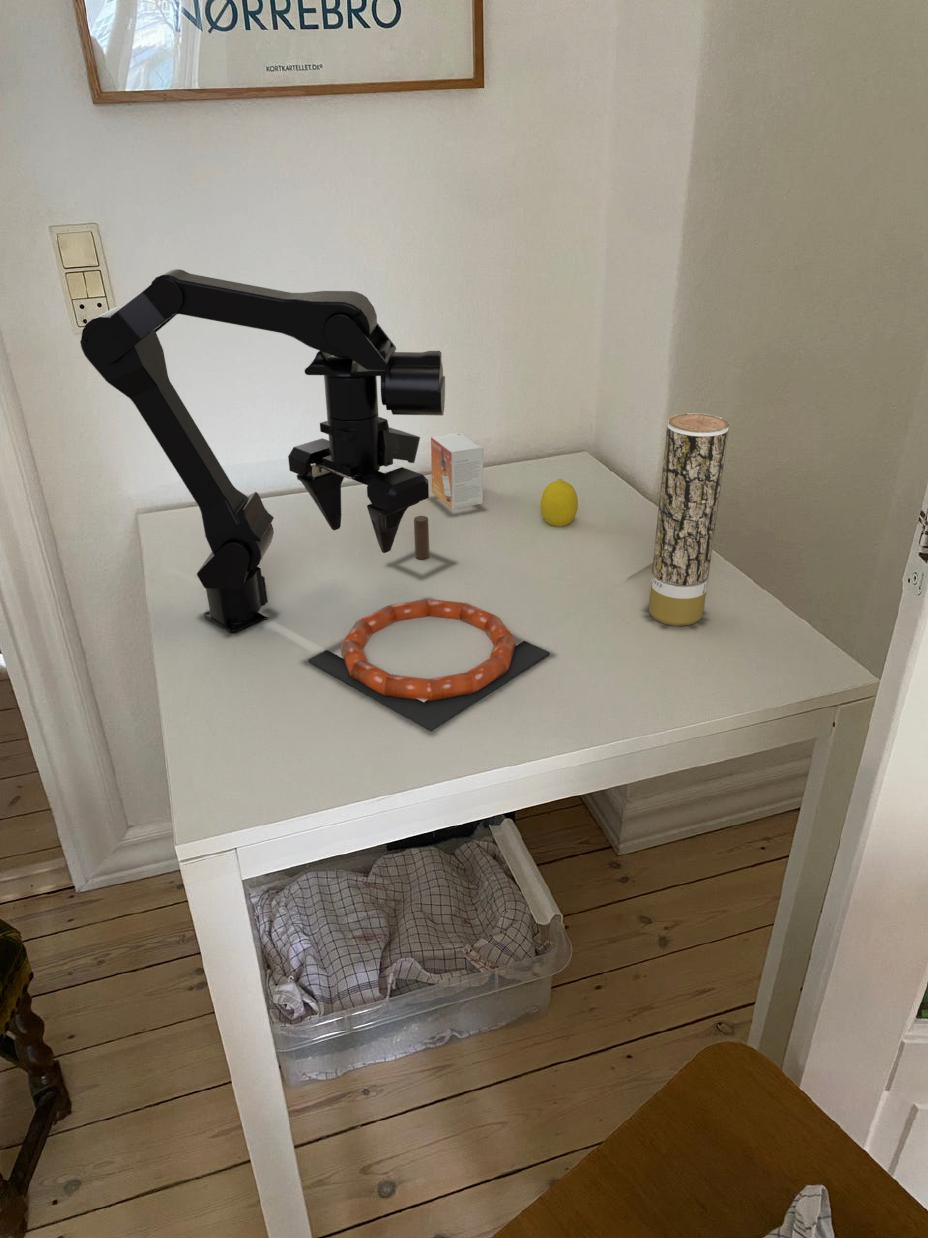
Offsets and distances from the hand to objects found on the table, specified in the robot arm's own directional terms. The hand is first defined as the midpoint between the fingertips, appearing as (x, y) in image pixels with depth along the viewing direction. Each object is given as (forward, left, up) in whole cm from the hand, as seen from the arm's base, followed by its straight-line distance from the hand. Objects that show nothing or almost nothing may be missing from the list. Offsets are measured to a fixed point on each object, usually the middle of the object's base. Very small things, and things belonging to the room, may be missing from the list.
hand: (360, 540), depth 110 cm
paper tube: (+27, -28, -11) cm, 41 cm away
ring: (-1, -12, -9) cm, 15 cm away
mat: (-1, -12, -11) cm, 17 cm away
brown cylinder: (+16, +6, -11) cm, 20 cm away
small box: (+35, +17, -11) cm, 40 cm away
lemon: (+38, -1, -11) cm, 39 cm away
